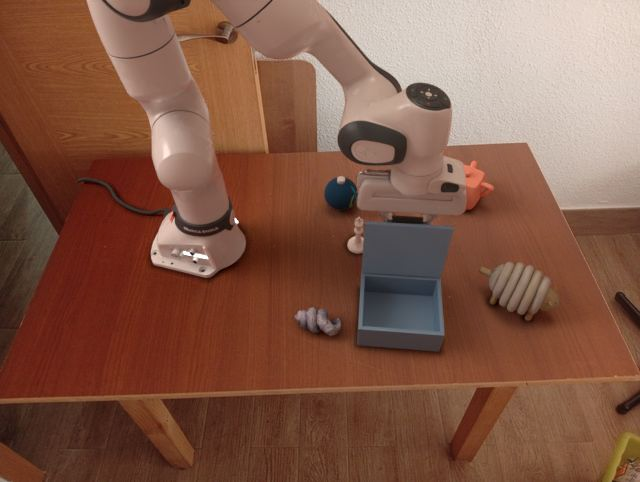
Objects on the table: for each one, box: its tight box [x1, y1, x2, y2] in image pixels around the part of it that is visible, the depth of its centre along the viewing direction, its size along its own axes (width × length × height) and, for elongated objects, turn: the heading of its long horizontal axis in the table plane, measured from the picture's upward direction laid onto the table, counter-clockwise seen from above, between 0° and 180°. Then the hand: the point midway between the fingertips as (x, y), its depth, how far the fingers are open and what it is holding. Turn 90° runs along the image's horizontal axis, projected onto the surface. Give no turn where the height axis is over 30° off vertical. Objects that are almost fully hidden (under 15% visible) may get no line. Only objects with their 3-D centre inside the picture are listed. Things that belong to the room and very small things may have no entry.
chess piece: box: [346, 216, 364, 254], centre depth 112 cm, size 5×5×10 cm
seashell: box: [293, 306, 342, 337], centre depth 100 cm, size 5×5×10 cm
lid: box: [360, 214, 455, 279], centre depth 98 cm, size 14×17×5 cm
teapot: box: [463, 160, 495, 211], centre depth 121 cm, size 12×12×10 cm
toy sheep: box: [478, 261, 561, 322], centre depth 100 cm, size 11×17×11 cm, turn 61°
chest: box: [356, 272, 446, 353], centre depth 100 cm, size 14×17×7 cm
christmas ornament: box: [323, 175, 358, 211], centre depth 120 cm, size 8×8×10 cm
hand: (406, 223), depth 96 cm, fingers closed on lid, 6 cm apart
